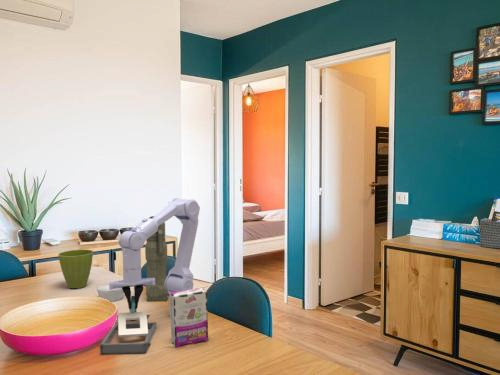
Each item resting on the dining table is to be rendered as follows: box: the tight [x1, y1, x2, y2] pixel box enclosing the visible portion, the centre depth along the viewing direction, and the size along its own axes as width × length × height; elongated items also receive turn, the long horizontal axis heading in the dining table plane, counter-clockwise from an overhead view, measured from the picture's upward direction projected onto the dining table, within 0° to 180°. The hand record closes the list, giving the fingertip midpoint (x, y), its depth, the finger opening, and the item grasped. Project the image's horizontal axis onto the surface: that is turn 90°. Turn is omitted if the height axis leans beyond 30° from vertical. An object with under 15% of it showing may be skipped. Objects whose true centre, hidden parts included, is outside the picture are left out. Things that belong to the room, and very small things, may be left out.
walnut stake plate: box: [114, 314, 151, 326], centre depth 152 cm, size 14×12×1 cm
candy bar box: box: [169, 287, 209, 348], centre depth 137 cm, size 11×5×16 cm, turn 117°
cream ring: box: [117, 295, 149, 338], centre depth 138 cm, size 12×9×5 cm
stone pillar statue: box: [144, 216, 169, 303], centre depth 177 cm, size 9×12×35 cm
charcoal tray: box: [99, 321, 157, 355], centre depth 137 cm, size 14×17×3 cm
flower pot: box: [57, 249, 94, 289], centre depth 198 cm, size 15×15×16 cm
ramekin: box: [96, 283, 124, 302], centre depth 181 cm, size 11×11×5 cm
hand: (133, 308), depth 141 cm, fingers closed on cream ring
